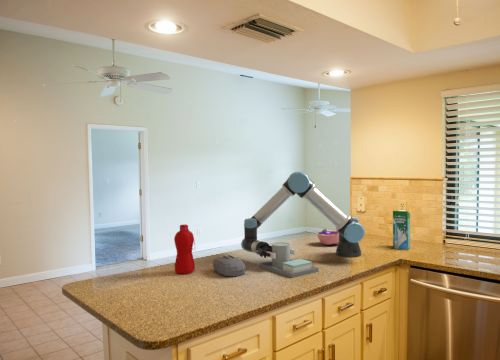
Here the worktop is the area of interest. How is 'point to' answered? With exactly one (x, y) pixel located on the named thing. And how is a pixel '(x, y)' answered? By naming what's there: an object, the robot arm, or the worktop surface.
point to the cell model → (328, 237)
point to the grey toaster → (229, 266)
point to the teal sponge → (296, 265)
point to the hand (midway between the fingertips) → (285, 254)
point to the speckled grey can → (280, 254)
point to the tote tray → (280, 271)
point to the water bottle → (184, 251)
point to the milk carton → (401, 229)
